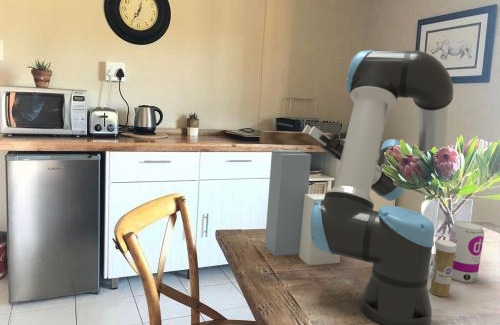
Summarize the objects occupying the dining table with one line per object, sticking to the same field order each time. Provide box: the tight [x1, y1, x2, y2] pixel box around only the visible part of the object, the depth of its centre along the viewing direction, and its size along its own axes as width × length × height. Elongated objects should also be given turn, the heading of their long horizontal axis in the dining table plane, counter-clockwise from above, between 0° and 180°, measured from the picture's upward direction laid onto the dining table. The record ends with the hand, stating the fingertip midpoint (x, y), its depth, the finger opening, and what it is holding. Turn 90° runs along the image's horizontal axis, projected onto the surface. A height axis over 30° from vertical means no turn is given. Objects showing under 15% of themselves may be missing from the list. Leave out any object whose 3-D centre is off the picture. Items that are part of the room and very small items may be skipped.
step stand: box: [264, 149, 341, 266], centre depth 124 cm, size 17×16×30 cm
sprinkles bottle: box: [429, 239, 457, 298], centre depth 106 cm, size 5×5×13 cm
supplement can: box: [448, 220, 485, 283], centre depth 116 cm, size 8×8×15 cm
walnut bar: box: [259, 129, 335, 147], centre depth 124 cm, size 22×4×4 cm, turn 109°
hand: (308, 129), depth 125 cm, fingers closed on walnut bar, 3 cm apart
